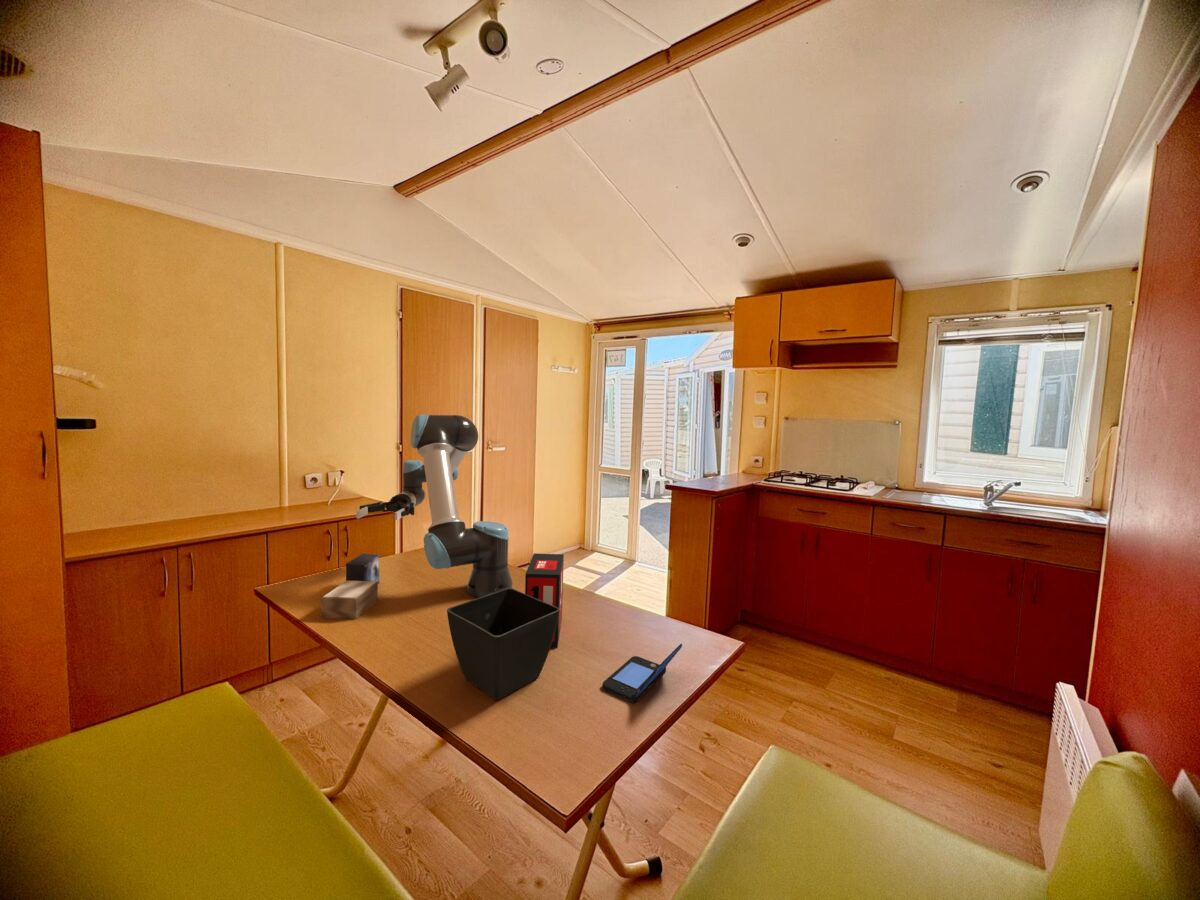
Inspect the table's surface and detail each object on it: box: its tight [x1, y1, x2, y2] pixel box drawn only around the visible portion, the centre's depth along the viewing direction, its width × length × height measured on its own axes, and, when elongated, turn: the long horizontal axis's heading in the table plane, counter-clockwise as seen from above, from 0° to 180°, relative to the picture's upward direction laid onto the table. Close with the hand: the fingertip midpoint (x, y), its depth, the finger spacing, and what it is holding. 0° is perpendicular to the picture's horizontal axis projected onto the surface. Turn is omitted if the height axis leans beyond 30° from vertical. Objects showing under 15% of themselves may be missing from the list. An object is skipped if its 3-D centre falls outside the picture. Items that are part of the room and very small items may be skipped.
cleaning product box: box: [524, 552, 565, 649], centre depth 128 cm, size 16×9×20 cm, turn 1°
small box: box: [345, 553, 381, 585], centre depth 153 cm, size 11×6×10 cm, turn 179°
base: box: [320, 580, 379, 620], centre depth 138 cm, size 10×13×6 cm
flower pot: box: [446, 587, 560, 700], centre depth 106 cm, size 19×19×17 cm
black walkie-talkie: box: [601, 643, 683, 705], centre depth 106 cm, size 16×13×9 cm
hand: (376, 515), depth 161 cm, fingers open, 13 cm apart
